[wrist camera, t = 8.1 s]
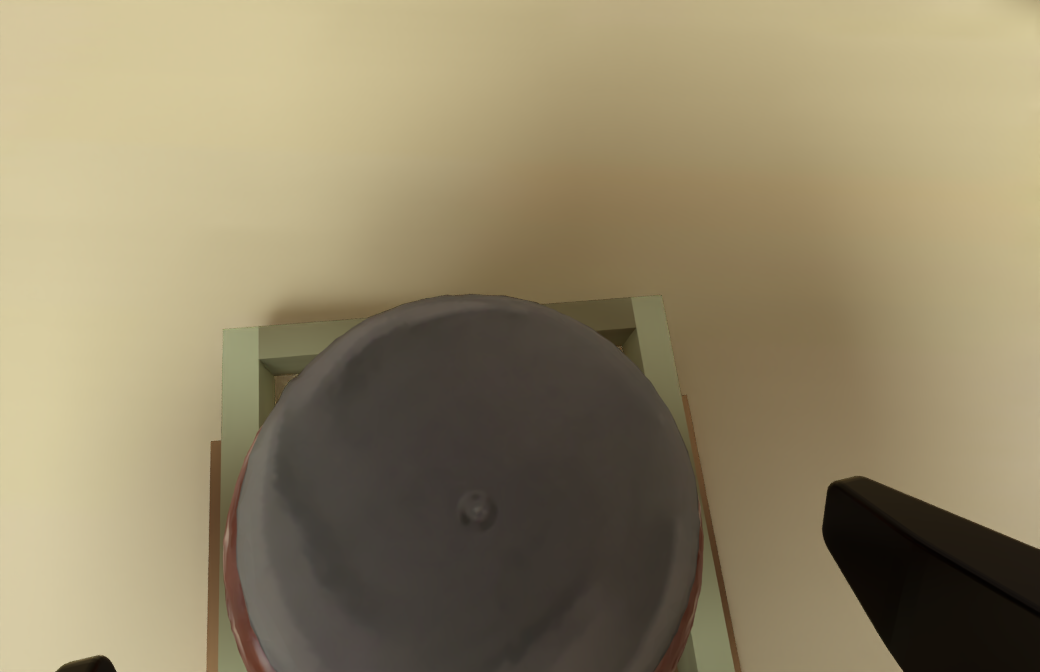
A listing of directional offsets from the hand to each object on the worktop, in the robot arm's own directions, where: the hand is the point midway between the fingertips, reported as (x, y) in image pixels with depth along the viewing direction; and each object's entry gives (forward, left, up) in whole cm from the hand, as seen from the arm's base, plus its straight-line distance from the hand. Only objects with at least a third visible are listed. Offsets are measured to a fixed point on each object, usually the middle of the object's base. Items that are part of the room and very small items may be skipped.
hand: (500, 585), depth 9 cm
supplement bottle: (+1, 0, -8) cm, 8 cm away
